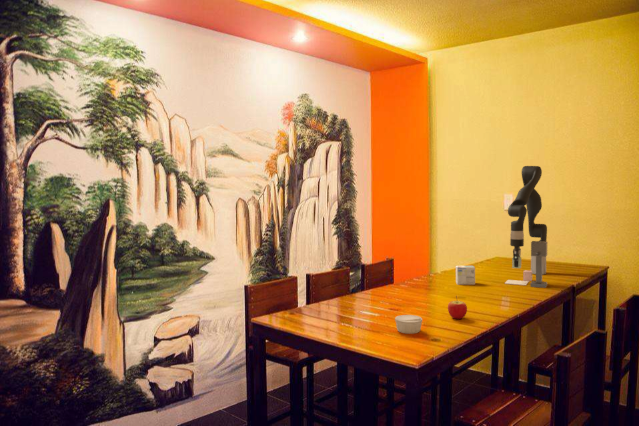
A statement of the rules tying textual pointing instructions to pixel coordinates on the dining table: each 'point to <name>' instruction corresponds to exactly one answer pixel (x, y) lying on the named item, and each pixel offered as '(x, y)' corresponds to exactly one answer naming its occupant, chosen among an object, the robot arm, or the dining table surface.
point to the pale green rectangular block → (518, 263)
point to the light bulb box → (465, 275)
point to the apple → (457, 309)
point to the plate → (516, 282)
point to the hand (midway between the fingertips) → (516, 266)
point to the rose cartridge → (527, 275)
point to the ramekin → (408, 324)
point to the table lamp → (539, 261)
